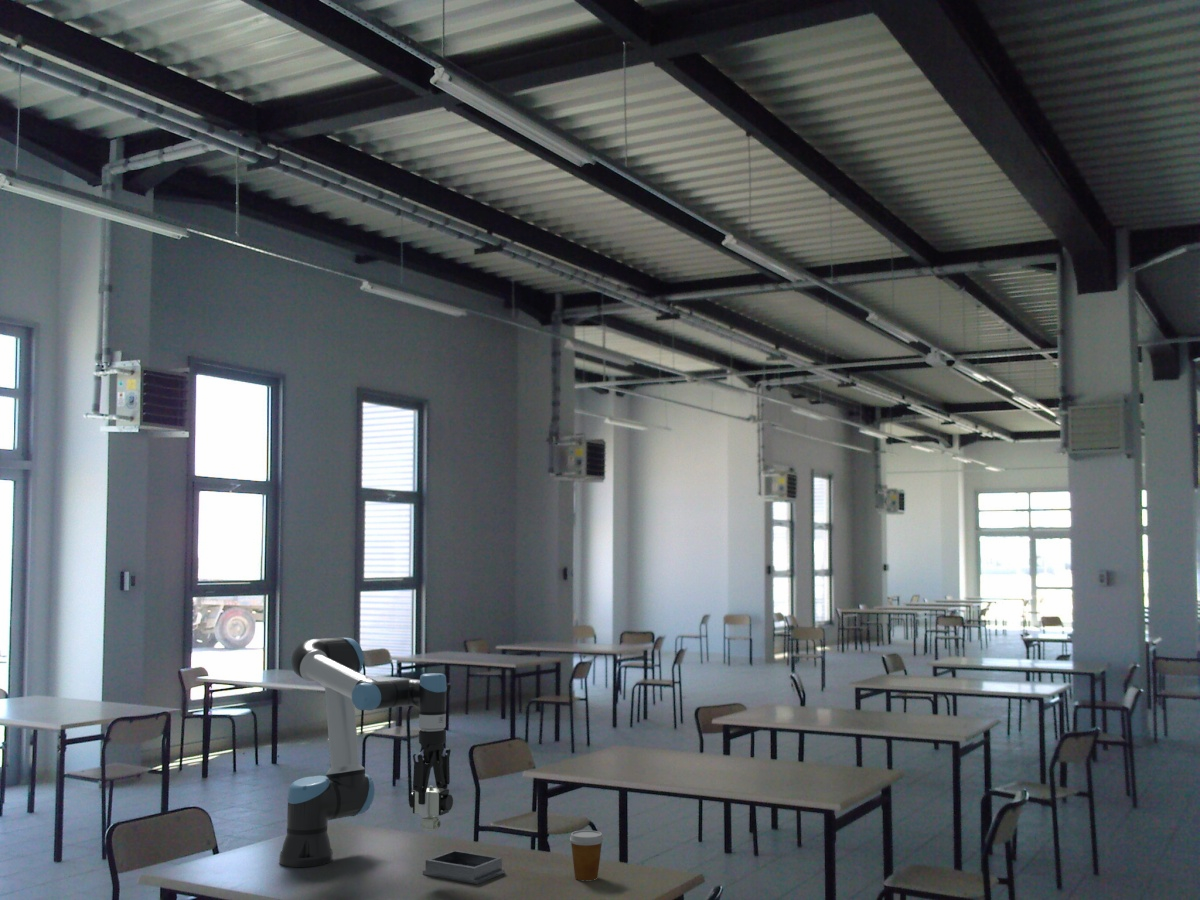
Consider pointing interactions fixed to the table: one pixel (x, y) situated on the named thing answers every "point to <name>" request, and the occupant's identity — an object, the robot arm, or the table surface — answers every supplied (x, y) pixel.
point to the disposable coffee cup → (586, 853)
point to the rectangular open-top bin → (464, 867)
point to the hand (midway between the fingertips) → (431, 813)
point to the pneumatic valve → (432, 807)
